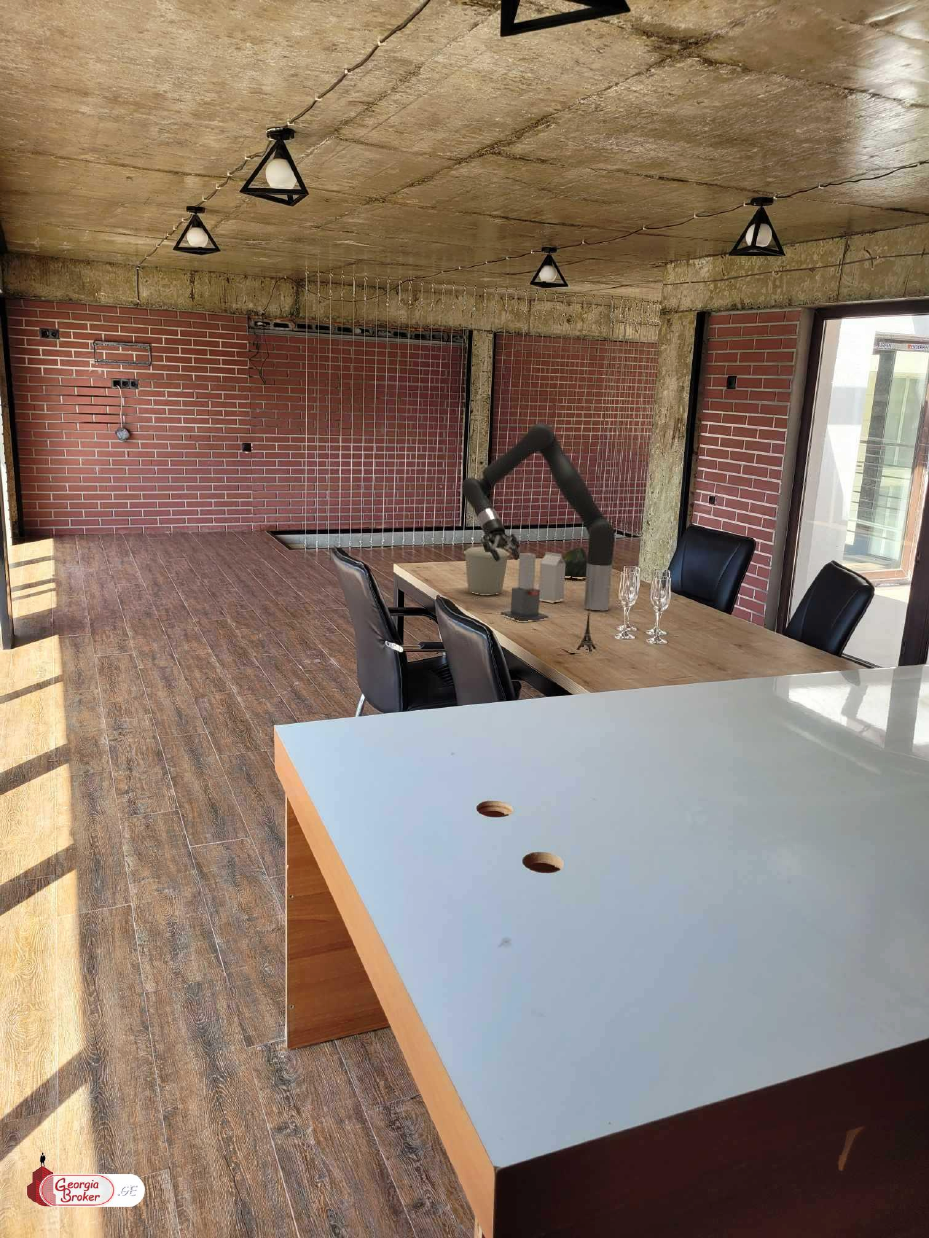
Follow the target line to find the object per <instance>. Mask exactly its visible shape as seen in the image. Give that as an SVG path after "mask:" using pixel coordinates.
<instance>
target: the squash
mask: <svg viewBox="0 0 929 1238" xmlns="http://www.w3.org/2000/svg"><path fill="white" fill-rule="evenodd" d="M587 556H588V553H587V552H586V550H585V549H584V548H583V547H576V548H574V549H572V550H569V551H566V552H565V553H563V554H562V558H563V560H564V562H565V563H566V565H565V576H571V577H586V571H587Z"/></svg>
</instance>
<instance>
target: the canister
mask: <svg viewBox="0 0 929 1238" xmlns="http://www.w3.org/2000/svg"><path fill="white" fill-rule="evenodd" d="M489 544H490V546H491V543H490V542H489ZM495 550H497V552H498V554H499V556H500V560H499V561H496V560H494V558H493V556H492V554H491V553H490V552H485V550H484V547H483V546H476V547H469V548H468V549H466V550H464V551H463V554H464V555H465V568H466V569H465V570H466V572H465V573H466V582H467V588H468V591H469V592H470V593H471V592H474V593H478V594H496V593H499V592H500V593H501V592H502V590H503V587H504V583H505V578H506V577H505V576H506V571H507V565H508V559H509V558H508V557H509V556H510V553H509V552H507V551H506V550H505V549H503V548H501V547H499V548H497V547H496V549H495ZM500 593H499V594H500Z"/></svg>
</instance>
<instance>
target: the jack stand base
mask: <svg viewBox="0 0 929 1238" xmlns="http://www.w3.org/2000/svg"><path fill="white" fill-rule="evenodd" d="M539 595H540V590H539V588H536V587H534V590H525V591H524V590H521V589H518V586H517V587H512V588H511V596H510V597H511V598H510V599H511V600H510V603H511V604H510V610H507V611H505V610H504V611H500V616H501V615H505V616H508V617H510V618H514V619H515V620H519V621H528V620H540V619H544V618H548V619H549V615H547V614H544V613H540V612H539V611H540V610H539V609H540V601H539Z"/></svg>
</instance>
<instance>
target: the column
mask: <svg viewBox="0 0 929 1238" xmlns="http://www.w3.org/2000/svg"><path fill="white" fill-rule="evenodd" d="M536 558H537V557H536V554H535V553H532V552H523V553H522V552H521V553H519V559H518V577H517V578H518V580H517V587H518V589H521V590H524V591H525V590H534V588H535V576H536V575H535V574H536V573H535V572H536Z"/></svg>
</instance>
